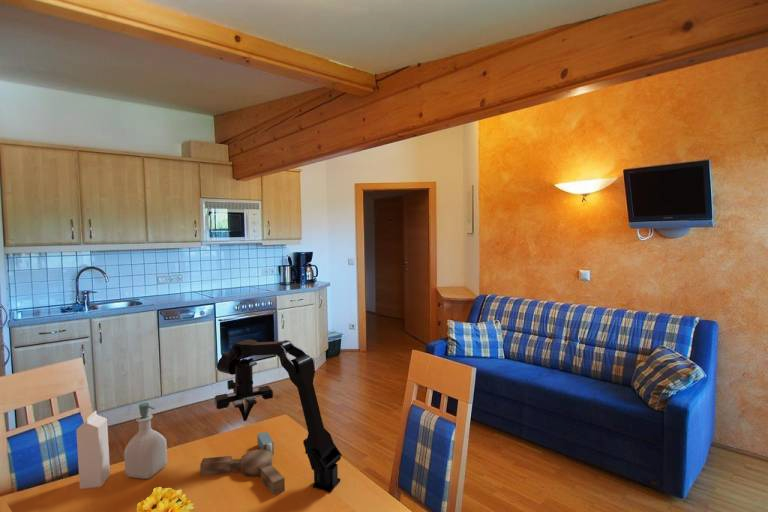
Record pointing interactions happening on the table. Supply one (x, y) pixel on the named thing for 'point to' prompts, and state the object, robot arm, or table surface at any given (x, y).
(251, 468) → the wooden three-arm spinner
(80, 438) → the milk
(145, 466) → the soap bottle
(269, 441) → the grey long block
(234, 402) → the robot arm
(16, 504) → the table surface
